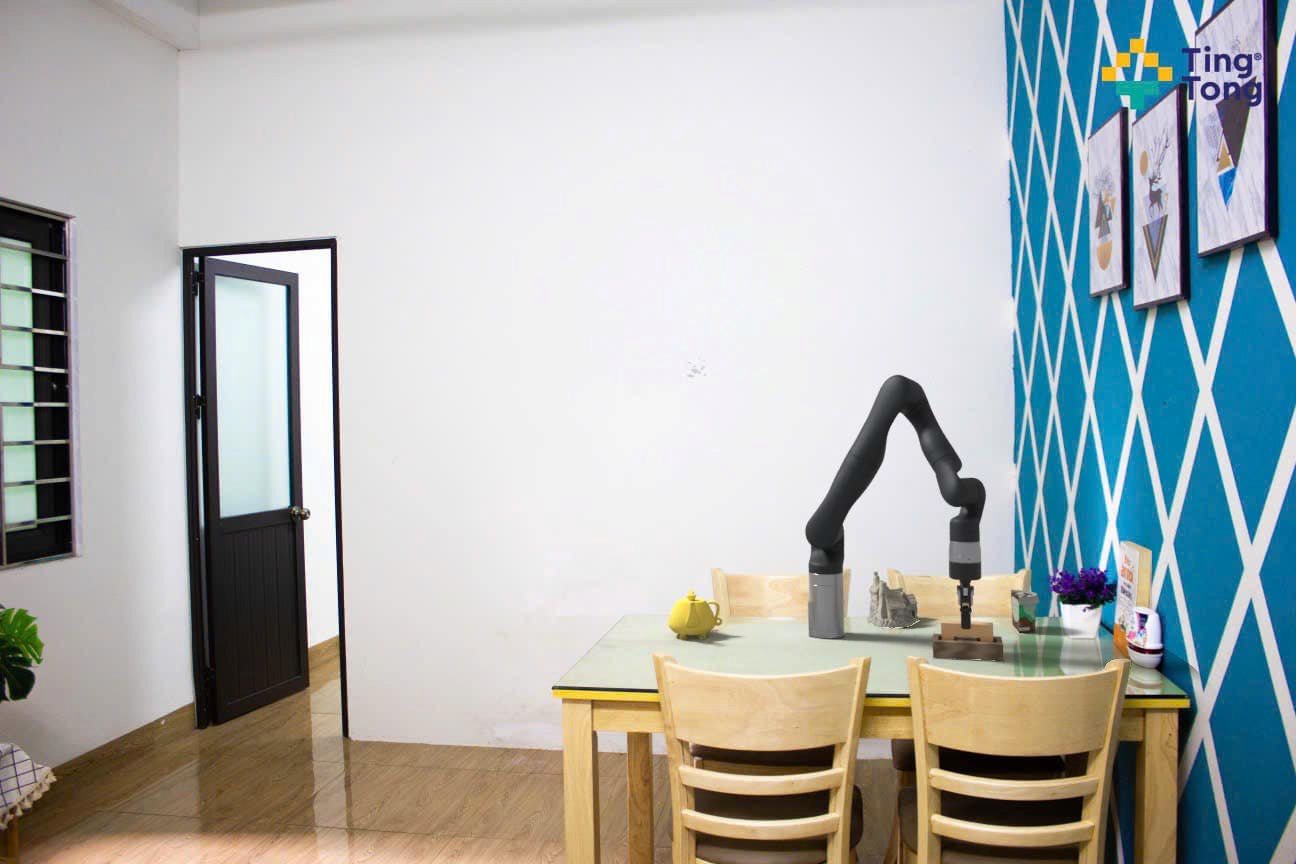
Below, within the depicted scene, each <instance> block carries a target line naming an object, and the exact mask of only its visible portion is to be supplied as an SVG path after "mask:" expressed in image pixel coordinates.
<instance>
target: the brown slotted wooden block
mask: <svg viewBox="0 0 1296 864" xmlns="http://www.w3.org/2000/svg"><path fill="white" fill-rule="evenodd" d="M932 635H933V636H932V658H933V657H936V658H935V659H943V658H952V659H951V660H963V659H981V660H980V661H982V660H995V661H994V662H1001V661H1004V643H1003V638H1002V636H1000V635H998V636H995V635H993V642H980V637H971V636H954V640H942V635H941V633H933V634H932ZM954 658H955V659H954Z"/></svg>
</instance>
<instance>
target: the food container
mask: <svg viewBox="0 0 1296 864" xmlns="http://www.w3.org/2000/svg"><path fill="white" fill-rule="evenodd" d="M1010 598H1011V599H1010V600H1011V622H1012V625H1013V626H1014V627H1015V628H1016V629H1017V631H1018V632H1019V633H1024V634H1032V633H1031V632H1033V633H1035V632H1036V620H1037V606H1038V604H1039V603H1040V600H1039V599H1040V598H1039V596H1038V594H1037V593H1036V592H1034V591H1030V590H1029V591H1028V590H1020V589H1011V590H1010ZM1013 626H1012V627H1013ZM1014 627H1013V628H1014ZM1017 631H1016V632H1017ZM1018 632H1017V633H1018ZM1019 633H1018V634H1019Z"/></svg>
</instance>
